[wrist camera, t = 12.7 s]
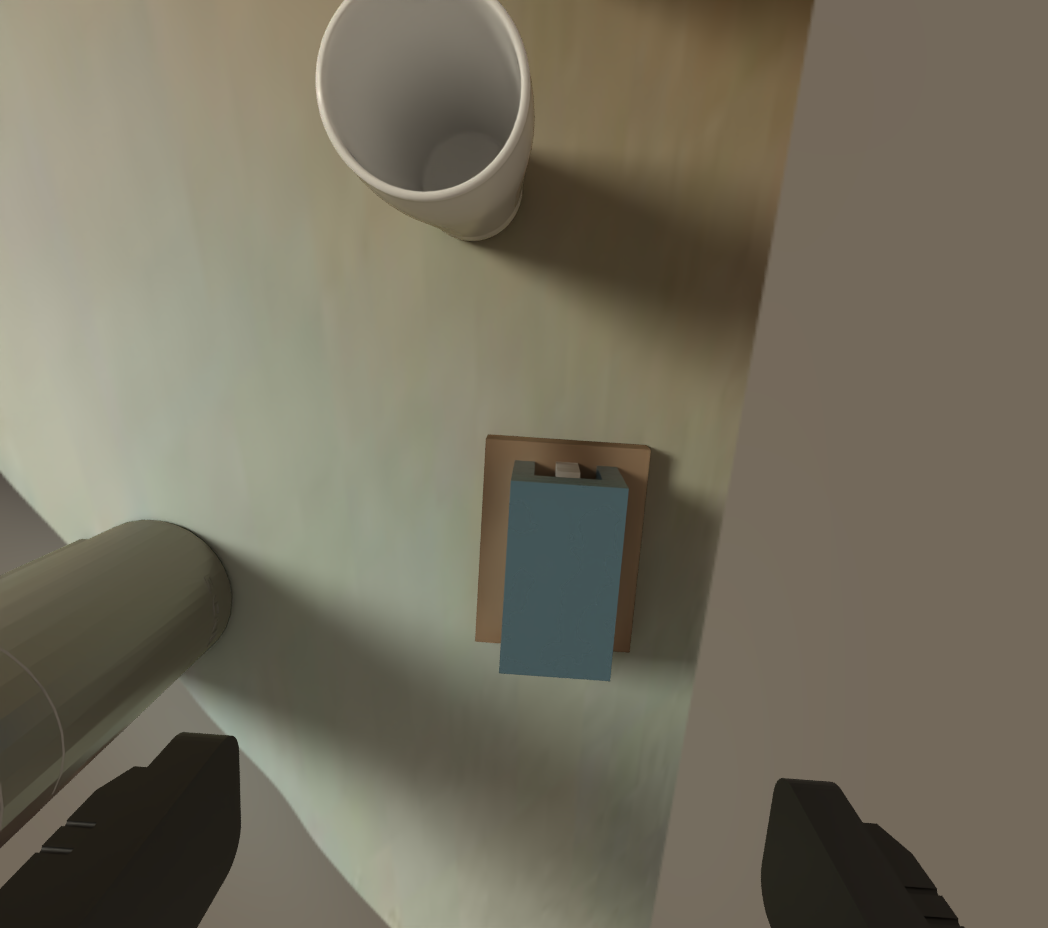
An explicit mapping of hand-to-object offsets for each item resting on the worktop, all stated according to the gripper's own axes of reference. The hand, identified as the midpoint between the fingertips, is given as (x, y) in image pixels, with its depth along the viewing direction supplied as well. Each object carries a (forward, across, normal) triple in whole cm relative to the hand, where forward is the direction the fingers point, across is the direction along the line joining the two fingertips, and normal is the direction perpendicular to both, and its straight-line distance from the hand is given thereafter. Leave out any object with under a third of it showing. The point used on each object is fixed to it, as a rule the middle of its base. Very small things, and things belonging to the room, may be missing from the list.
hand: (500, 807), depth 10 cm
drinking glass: (+28, +4, -14) cm, 32 cm away
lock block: (+27, -2, +5) cm, 27 cm away
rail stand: (+28, -2, +5) cm, 29 cm away
